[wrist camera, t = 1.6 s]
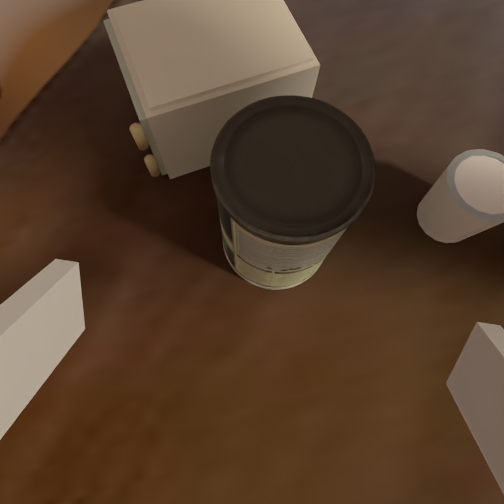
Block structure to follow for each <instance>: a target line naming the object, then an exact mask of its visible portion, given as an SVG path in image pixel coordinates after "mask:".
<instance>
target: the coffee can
mask: <svg viewBox="0 0 504 504" xmlns="http://www.w3.org/2000/svg"><path fill="white" fill-rule="evenodd" d="M210 174H211V179H212V184H213V188H214V191H215V194H216V198H217V204H218V211H219V217H220V223H221V230H222V236H223V247H224V251H225V255H226V257H227V260H228V262H229V263H230V265H231V266H232V268H233V269H234V271H235V272H236V273H237V274H238V275H239V276H240V277H242V278H243V279H244V280H246V281H247V282H249V283H251V284H253V285H255V286H258V287H261V288H265V289H271V290H279V289H287V288H291V287H294V286H297V285H299V284H301V283H303V282H304V281H306V280H307V279H309V278H310V277H311V276H313V274H314V273H315V272H316V271H317V270H318V268H319V267H320V265H321V263H322V262H323V260H324V258H325V257H326V256H327V254H328V253H329V252H330V250H331V249H332V248H333V246H334V245H335V244H336V242H337V241H338V240H339V238H340V237H341V235H342V234H343V233H344V231H345V230H346V229H347V227H348V226H349V225H351V224H352V223H353V222H354V221H355V220H356V219H357V218H358V216H359V215H360V214H361V213H362V211H363V210H364V208H365V207H366V205H367V203H368V202H369V200H370V198H371V195H372V192H373V189H374V185H375V176H376V167H375V160H374V156H373V152H372V149H371V146H370V143H369V142H368V140H367V138H366V136H365V135H364V133H363V132H362V130H361V129H360V127H359V126H358V125H357V124H356V123H355V122H354V121H353V120H352V119H351V118H350V117H348V116H347V115H346V114H345V113H343V112H342V111H340V110H339V109H337V108H335V107H334V106H332V105H330V104H328V103H326V102H323V101H320V100H318V99H314V98H310V97H303V96H294V95H285V96H274V97H268V98H265V99H261V100H258V101H256V102H254V103H251V104H250V105H247V106H246V107H244V108H243V109H241V110H240V111H238V112H237V113H235V114H234V115H233V116H232V117H231V118H230V119H229V120H228V121H227V122H226V123H225V125H224V126H223V127H222V129H221V130H220V132H219V133H218V135H217V137H216V139H215V142H214V145H213V148H212V152H211V157H210Z"/></svg>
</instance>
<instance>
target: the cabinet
mask: <svg viewBox="0 0 504 504" xmlns="http://www.w3.org/2000/svg"><path fill="white" fill-rule="evenodd" d="M107 13H108V15H109V18H110V19H107V20H103V22H104V24H105V27H106V30H107V33H108V35H109V38H110V41H111V44H112V46H113V49H114V52H115V55H116V57H117V60H118V63H119V66H120V69H121V71H122V74H123V77H124V80H125V82H126V85H127V88H128V91H129V93H130V96H131V99H132V102H133V104H134V107H135V110H136V113H137V115H138V118H139V121H140V123H141V124H139V123H133V124H132V125H131V126H130V132H131V134H132V136H133V138H134V140H135V142H136V144H137V147H138V148H139V149H140V150H146V149H148V147H149V145H150V148H151V150H152V152H153V155H154V156H153V155H147V156H145V158H144V161H145V164H146V166H147V168H148V170H149V172H150V174H151V176H153V177H157V176H159V175H160V172H161V174H162V175H165V174H168V176H169V178H170V179H173V178H176V177H179V176H182V175H185V174H188V173H191V172H194V171H197V170H200V169H203V168H206V167H209V166H210V157H211V152H212V148H213V145H214V142H215V139H216V137H217V135H218V133H219V132H220V130H221V129H222V127H223V126H224V125H225V123H226V122H227V121H228V120H229V119H230V118H231V117H232V116H233V115H234V114H235V113H237V112H238V111H240V110H241V109H243V108H244V107H246V106H247V105H250V104H251V103H254V102H256V101H258V100H261V99H265V98H268V97H274V96H285V95H294V96H303V97H310V98H312V96H313V92H314V88H315V84H316V80H317V76H318V72H319V68H320V64H319V62H318V60H317V58H316V57H315V55H314V53H313V51H312V50H311V48H310V46H309V44H308V43H307V41H306V39H305V37H304V36H303V34H302V32H301V30H300V29H299V27H298V25H297V23H296V21H295V20H294V18H293V16H292V14H291V13H290V11H289V9H288V7H287V6H286V4H285V2H284V0H143V1H139V2H135V3H131V4H128V5H124V6H120V7H116V8H112V9H110V10H107Z"/></svg>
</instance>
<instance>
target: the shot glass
mask: <svg viewBox="0 0 504 504" xmlns="http://www.w3.org/2000/svg"><path fill="white" fill-rule="evenodd" d="M417 218H418V222H419V225H420V226H421V228H422V229H423V231H424V232H425V233H426V234H427V235H428V236H430V237H431V238H433V239H434V240H436V241H440V242H443V243H454V242H459V241H461V240H463V239H466V238H468V237H470V236H473V235H475V234H477V233H480V232H482V231H485V230H487V229H489V228H492V227H494V226H496V225H499V224H501V223H503V222H504V156H502V155H501V154H499V153H496V152H492V151H488V150H484V149H478V150H468V151H466V152H464V153H462V154H460V155H458V156H456V157H455V158H454V159H453V161H452V162H451V163H450V165H449V166H448V167H447V168H446V170H445V171H444V172H443V173H442V175H441V176H440V177H439V179H438V180H437V181H436V182H435V184H434V185H433V186H432V188H431V189H430V190H429V191H428V193H427V194H426V195H425V197H424V198H423V199H422V201H421V202H420V203H419V205H418V209H417Z"/></svg>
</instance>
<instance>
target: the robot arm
mask: <svg viewBox="0 0 504 504" xmlns="http://www.w3.org/2000/svg"><path fill="white" fill-rule="evenodd" d="M84 329H85V323H84V313H83V303H82V292H81V282H80V271H79V262H73V261H67V260H60V259H55V260H54V261H52V262H51V263H50V264H49V265H48V266H46V267H45V268H44V269H43V270H42V271H40V272H39V273H38V274H37V275H36V276H34V277H33V278H32V279H31V280H30V281H28V282H27V283H26V284H25V285H24V286H22V287H21V288H20V289H19V290H18V291H16V292H15V293H14V294H13V295H12V296H10V297H9V298H8V299H7V300H6V301H4V302H3V303H2V304H1V305H0V439H1V438H2V437H3V435H4V434H5V433H6V431H7V430H8V429H9V428H10V426H11V425H12V424H13V422H14V421H15V420H16V418H17V417H18V416H19V414H20V413H21V412H22V411H23V409H24V408H25V407H26V405H27V404H28V403H29V401H30V400H31V399H32V397H33V396H34V395H35V394H36V392H37V391H38V390H39V388H40V387H41V386H42V384H43V383H44V382H45V380H46V379H47V378H48V377H49V375H50V374H51V373H52V371H53V370H54V369H55V367H56V366H57V365H58V363H59V362H60V361H61V360H62V358H63V357H64V356H65V354H66V353H67V352H68V350H69V349H70V348H71V346H72V345H73V344H74V343H75V341H76V340H77V339H78V337H79V336H80V335H81V333H82V332H83V331H84ZM446 385H447V387H448V388H449V390H450V392H451V394H452V396H453V398H454V400H455V402H456V404H457V406H458V408H459V410H460V412H461V414H462V415H463V417H464V419H465V421H466V423H467V425H468V427H469V429H470V431H471V433H472V435H473V437H474V439H475V440H476V442H477V444H478V446H479V448H480V450H481V452H482V454H483V456H484V458H485V460H486V462H487V464H488V465H489V467H490V469H491V471H492V473H493V475H494V477H495V479H496V481H497V483H498V485H499V487H500V489H501V490H502V492H503V494H504V329H503V328H502V327H501V326H500V325H494V324H487V323H480V322H477V323H476V325H475V327H474V329H473V331H472V333H471V335H470V337H469V339H468V341H467V343H466V345H465V347H464V349H463V351H462V353H461V355H460V356H459V358H458V360H457V362H456V364H455V366H454V368H453V370H452V372H451V374H450V376H449V378H448V380H447V382H446Z"/></svg>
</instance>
